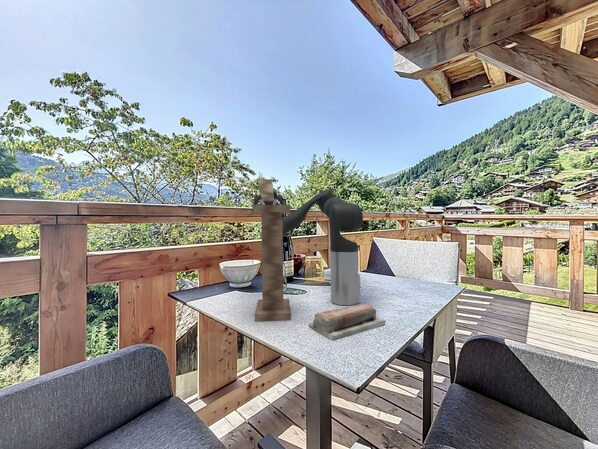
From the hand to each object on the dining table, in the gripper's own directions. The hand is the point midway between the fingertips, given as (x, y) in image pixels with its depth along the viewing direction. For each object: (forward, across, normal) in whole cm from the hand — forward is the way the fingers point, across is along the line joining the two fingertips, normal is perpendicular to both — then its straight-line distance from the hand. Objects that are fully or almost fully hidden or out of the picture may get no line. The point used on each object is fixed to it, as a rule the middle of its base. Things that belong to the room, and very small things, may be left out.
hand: (268, 190), depth 98 cm
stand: (-4, -2, -44) cm, 44 cm away
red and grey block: (+6, -21, -51) cm, 55 cm away
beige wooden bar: (+4, 0, -6) cm, 7 cm away
